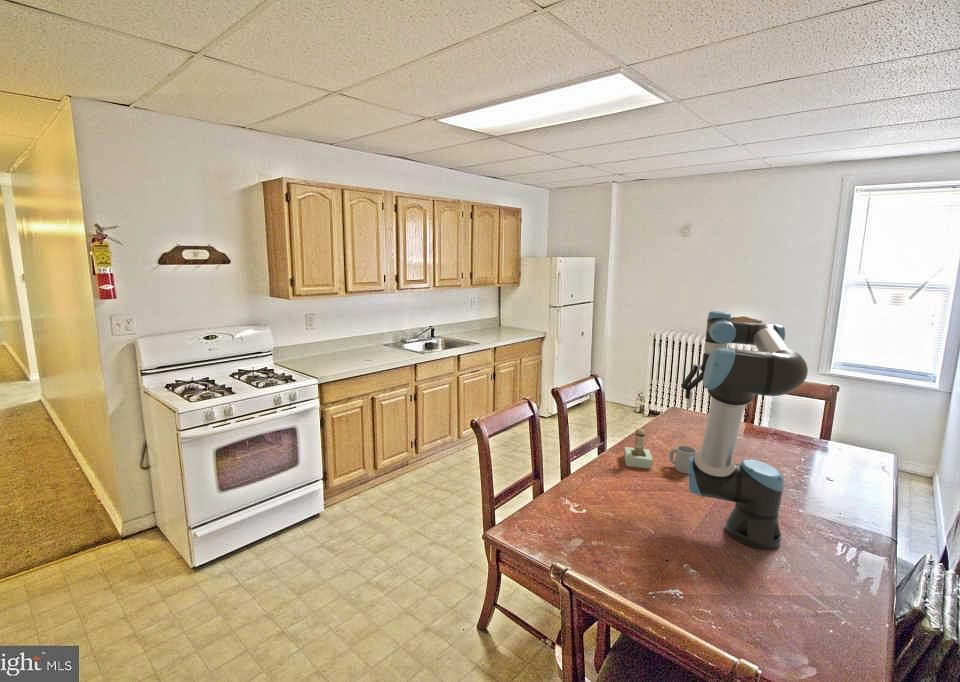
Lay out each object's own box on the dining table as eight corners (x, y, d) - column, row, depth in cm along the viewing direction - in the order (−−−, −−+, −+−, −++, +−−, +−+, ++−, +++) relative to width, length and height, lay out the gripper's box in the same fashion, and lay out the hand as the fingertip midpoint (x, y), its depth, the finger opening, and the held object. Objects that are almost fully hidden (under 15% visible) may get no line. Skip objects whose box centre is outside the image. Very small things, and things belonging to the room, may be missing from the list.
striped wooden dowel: (642, 464, 196) (645, 432, 193) (633, 463, 197) (636, 431, 194) (641, 460, 199) (644, 429, 196) (632, 459, 200) (635, 428, 197)
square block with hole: (651, 468, 192) (652, 459, 191) (626, 466, 194) (627, 456, 193) (648, 458, 202) (649, 449, 201) (624, 455, 204) (624, 446, 203)
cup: (691, 476, 187) (693, 455, 185) (665, 468, 193) (667, 447, 191) (695, 469, 193) (698, 449, 191) (670, 462, 199) (672, 442, 197)
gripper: (746, 353, 176) (739, 408, 180) (676, 349, 180) (670, 402, 184) (755, 357, 169) (747, 414, 173) (681, 353, 173) (675, 409, 176)
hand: (707, 408), depth 178 cm, fingers open, 13 cm apart
